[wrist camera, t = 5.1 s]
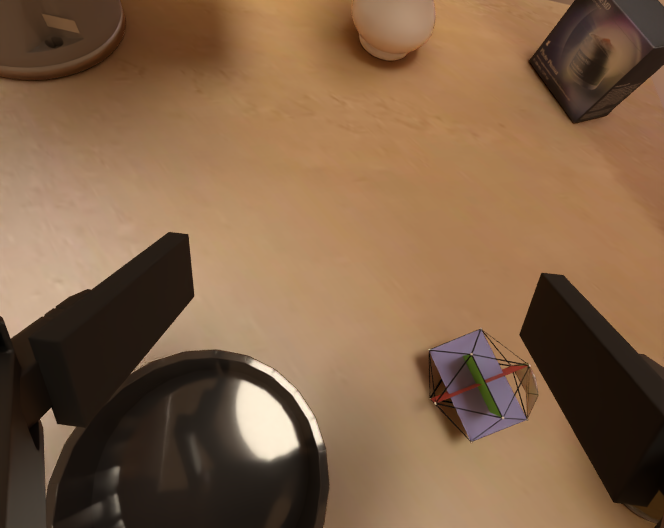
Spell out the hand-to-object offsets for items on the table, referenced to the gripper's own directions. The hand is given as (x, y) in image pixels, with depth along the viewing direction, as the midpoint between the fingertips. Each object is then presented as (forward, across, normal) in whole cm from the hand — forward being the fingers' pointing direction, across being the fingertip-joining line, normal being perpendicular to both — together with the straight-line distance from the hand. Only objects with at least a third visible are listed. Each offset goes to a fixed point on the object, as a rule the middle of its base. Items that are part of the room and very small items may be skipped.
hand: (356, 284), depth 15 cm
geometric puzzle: (+11, +9, -14) cm, 20 cm away
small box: (+43, +24, +8) cm, 50 cm away
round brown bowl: (+3, -8, -17) cm, 19 cm away
